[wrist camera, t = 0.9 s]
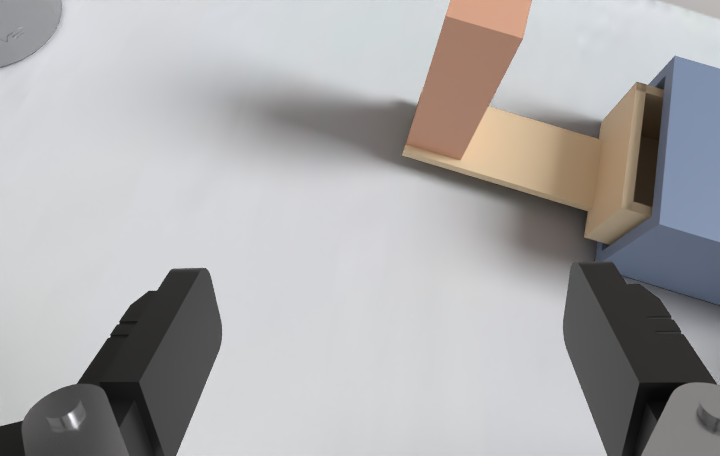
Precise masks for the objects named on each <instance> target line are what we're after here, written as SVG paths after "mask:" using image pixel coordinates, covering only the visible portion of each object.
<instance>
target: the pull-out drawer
mask: <svg viewBox="0 0 720 456" xmlns="http://www.w3.org/2000/svg"><path fill="white" fill-rule="evenodd" d="M531 1H532V0H450V3H449V7H448V10H447V13H446V16H445V20H444V23H443V26H442V29H441V33H440V36H439V39H438V42H437V46H436V49H435V52H434V55H433V59H432V62H431V65H430V68H429V72H428V75H427V78H426V81H425V85H424V87H423V89H422V92H421V95H420V98H419V102H418V105H417V108H416V111H415V115H414V118H413V121H412V124H411V128H410V131H409V134H408V137H407V141H406V144H405V147H404V150H403V154H402V156H406V157H409V158H412V159H416V160H419V161H422V162H425V163H429V164H432V165H435V166H439V167H442V168H445V169H449V170H452V171H455V172H459V173H462V174H465V175H469V176H472V177H475V178H479V179H482V180H485V181H489V182H492V183H495V184H499V185H502V186H505V187H509V188H512V189H515V190H518V191H522V192H525V193H528V194H532V195H535V196H538V197H542V198H545V199H548V200H552V201H555V202H558V203H562V204H565V205H568V206H572V207H575V208H578V209H582V210H585V211H588V214H587V221H586V228H585V234H584V237H585V238H588V239H592V240H595V241H598V242H601V243H605V244H608V245H611V244H613V243H614V242H616V241H617V240H618V239H620V238H621V237H623V236H624V235H626V234H627V233H628V232H630V231H631V230H633V229H634V228H636V227H637V226H639V225H640V224H641V223H643V222H644V221H646V220H647V219H649V218H650V217H652V208H653V198H654V188H655V178H656V168H657V158H658V148H659V138H660V128H661V117H662V107H663V97H664V90H663V89H660V88H656V87H653V86H650V85H646V84H643V83H639V82H636V83H635V84H634V86H633V87H632V88H631V89H630V90H629V91H628V92H627V94H626V95H625V96H624V97H623V98H622V99H621V100H620V101H619V103H618V104H617V105H616V106H615V107H614V108H613V109H612V111H611V112H610V113H609V114H608V115H607V116H606V117H605V119H604V120H603V121H602V122H601V127H600V134H599V139H597V138H594V137H591V136H587V135H584V134H580V133H577V132H574V131H570V130H567V129H564V128H560V127H557V126H553V125H550V124H547V123H543V122H540V121H537V120H533V119H530V118H526V117H523V116H520V115H516V114H513V113H510V112H506V111H503V110H499V109H496V108H493V107H489V104H490V102H491V100H492V98H493V96H494V94H495V92H496V90H497V88H498V86H499V84H500V82H501V80H502V79H503V77H504V75H505V73H506V71H507V69H508V67H509V65H510V63H511V61H512V59H513V57H514V55H515V53H516V51H517V49H518V47H519V45H520V43H521V41H522V39H523V36H524V32H525V27H526V23H527V19H528V14H529V10H530V6H531Z"/></svg>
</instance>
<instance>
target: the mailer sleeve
mask: <svg viewBox="0 0 720 456" xmlns="http://www.w3.org/2000/svg"><path fill="white" fill-rule="evenodd" d="M649 85H650V86H653V87H656V88H660V89H663V90H664V97H663V107H662V117H661V128H660V138H659V148H658V158H657V168H656V178H655V188H654V198H653V208H652V217H650V218H649V219H647V220H646V221H644V222H643V223H641V224H640V225H639V226H637V227H636V228H634V229H633V230H631V231H630V232H628V233H627V234H626V235H624V236H623V237H621V238H620V239H618V240H617V241H616V242H614V243H613V244H611V245H608V244H605V243H601V242H598V241H597V248H596V256H595V261H611V262H613V263H614V265H615V266H616V268H617V269H618V271H619V273H620V274H621V275H622V276H625V277H628V278H631V279H635V280H638V281H641V282H645V283H648V284H651V285H654V286H658V287H661V288H664V289H668V290H671V291H674V292H677V293H681V294H684V295H687V296H691V297H694V298H697V299H700V300H704V301H707V302H710V303H714V304H717V305H720V69H719V68H715V67H712V66H708V65H705V64H701V63H698V62H695V61H691V60H688V59H684V58H681V57H677V56H674V57H673V58H672V60H671V61H670V62H669V63H668V64H667V65H666V66H665V67H664V68H663V69H662V70H661V72H660V73H659V74H658V75H657V76H656V77H655V78H654V79H653V80H652V81H651V82H650V84H649Z"/></svg>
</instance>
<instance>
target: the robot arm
mask: <svg viewBox="0 0 720 456" xmlns="http://www.w3.org/2000/svg"><path fill="white" fill-rule="evenodd" d="M61 12H62V3H61V0H0V67H2V66H6V65H9V64H12V63H14V62H17V61H20V60H22V59H24V58H25V57H27V56H29V55H30V54H32V53H34V52H35V51H36V50H38V49H39V48H40V47H41V46H42V45H44V44H45V43H46V42H47V41H48V39H49V38H50V37H51V36H52V34H53V33H54V32H55V30H56V28H57V26H58V24H59V22H60V17H61ZM119 322H120V324H119V325H117V326H116V327H115V329H114V330H113V332H112V333H111V334H110V335H111V337H110V338H108V339H107V340H106V342H105V343H104V345H103V346H102V348H101V349H100V351H99V352H98V354H97V355H96V356H95V358H94V359H93V361H92V362H91V364H90V365H89V367H88V368H87V370H86V371H85V373H84V374H83V376H82V377H81V378H80V380H79V381H78V383H77V384H75V385H70V386H67V387H64V388H61V389H58V390H56V391H54V392H52V393H50V394H49V395H47V396H45V397H44V398H43V399H41V400H40V401H39V402H37V403H36V404H35V405H34V406H33V407H32V408H31V409H30V410H29V412H28V413H27V415H26V416H25V418H24V420H23V421H20V422H16V423H12V424H8V425H4V426H0V456H176V454H177V452H178V450H179V447H180V445H181V442H182V440H183V437H184V435H185V432H186V430H187V428H188V425H189V423H190V420H191V418H192V415H193V413H194V411H195V408H196V406H197V403H198V401H199V398H200V396H201V393H202V391H203V389H204V386H205V384H206V381H207V379H208V376H209V374H210V371H211V369H212V367H213V364H214V362H215V359H216V357H217V354H218V352H219V349H220V346H221V340H222V324H221V319H220V314H219V310H218V306H217V301H216V297H215V293H214V288H213V284H212V280H211V276H210V273H209V271H208V270H207V269H206V268H183V269H172V270H170V272H169V273H168V275H167V276H166V278H165V279H164V281H163V282H162V284H161V286H160V287H159V289H158V290H157V291H148V292H147V293H146V294H144V295H143V296H142V297H140V298H139V299H138V300H137V301H135V302H134V303H133V304H131V305H130V307H129V308H128V310H127V311H126V312H125V314H124V315H123V317H122V318H121V320H120V321H119ZM563 333H564V341H565V345H566V349H567V351H568V354H569V356H570V359H571V362H572V364H573V367H574V370H575V372H576V375H577V377H578V380H579V383H580V385H581V388H582V390H583V393H584V396H585V398H586V401H587V403H588V406H589V409H590V411H591V414H592V416H593V419H594V422H595V424H596V427H597V429H598V432H599V435H600V437H601V440H602V442H603V445H604V448H605V450H606V453H607V456H720V386H719V385H717V383H716V382H715V380H714V379H713V377H712V376H711V374H710V373H709V372H708V370H707V369H706V367H705V366H704V364H703V363H702V361H701V360H700V358H699V357H698V355H697V354H696V352H695V351H694V349H693V348H692V346H691V345H690V343H689V342H688V340H687V339H686V337H685V336H684V334H681V330H680V328H679V327H678V325H677V324H676V323H675V321H674V320H672V319H671V315H670V314H669V312H668V311H667V309H666V308H665V306H664V305H663V303H662V302H661V300H660V299H659V298H658V297H656V296H655V295H654V294H652V293H651V292H649V291H648V290H647V289H645V288H644V287H642V286H641V285H640V284H626V282H625V281H624V279H623V278H622V276H621V274H620V273H619V271H618V269H617V268H616V266H615V265H614V263H613V262H611V261H592V262H574V263H573V264H572V267H571V271H570V277H569V284H568V291H567V298H566V305H565V312H564V319H563Z"/></svg>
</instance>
